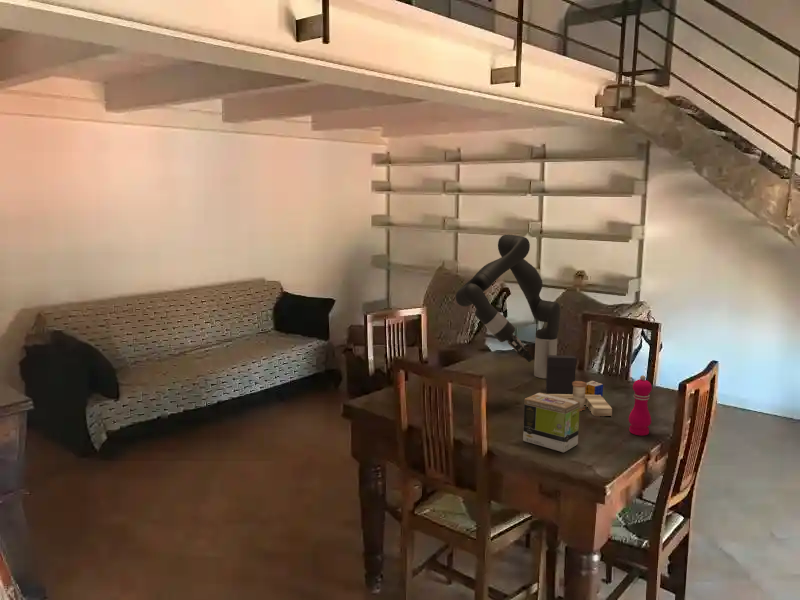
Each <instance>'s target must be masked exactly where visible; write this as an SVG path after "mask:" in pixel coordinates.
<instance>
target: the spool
mask: <svg viewBox="0 0 800 600" xmlns="http://www.w3.org/2000/svg"><path fill="white" fill-rule="evenodd" d="M572 385H573V400H576V401H580V408H579V412H583V411H582V410H585V411H586V406H584V404H585V387H586V386H587V382H585V381H583V380H582V381H581V380H575V381H574V382H572Z"/></svg>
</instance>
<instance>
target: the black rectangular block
mask: <svg viewBox="0 0 800 600" xmlns="http://www.w3.org/2000/svg"><path fill="white" fill-rule="evenodd" d="M576 369H577V358H576V356H575V355H561V354H560V355H559V354H558V355H548V356H547V374H546V378H545V379H546V380H545V392H546V394H566V393H568V394H573V385H572V382H574V381H576Z"/></svg>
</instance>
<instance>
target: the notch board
mask: <svg viewBox="0 0 800 600" xmlns="http://www.w3.org/2000/svg"><path fill="white" fill-rule="evenodd" d="M548 394H549V395H553V396H558V397H562V398H567V399H571V400H573V394H566V393H548ZM584 405H586V406H585V407H586V408H587V407H588V408H587V409H588V410H589V412H590V411H591V412H590V413H591V414H592V416H593V415H594V416H593V417H600V416H611V418H612V417H613V408H612V407H611V405H610V404H609V403H608V402H607V401H606V400H605V398H604V396H601V395H585V404H584Z"/></svg>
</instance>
